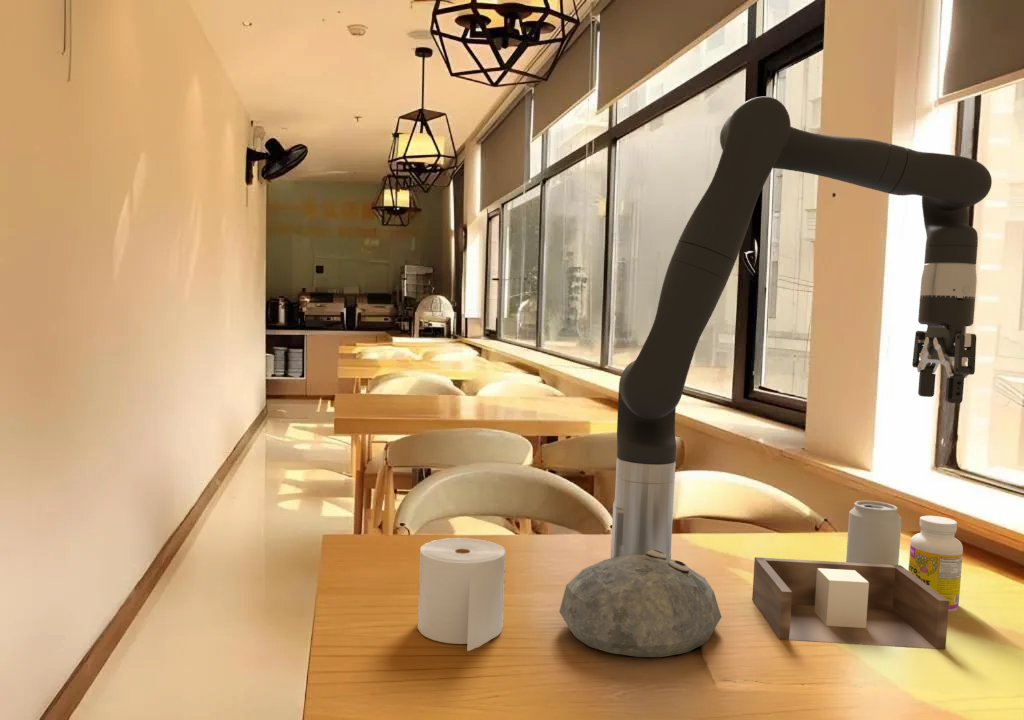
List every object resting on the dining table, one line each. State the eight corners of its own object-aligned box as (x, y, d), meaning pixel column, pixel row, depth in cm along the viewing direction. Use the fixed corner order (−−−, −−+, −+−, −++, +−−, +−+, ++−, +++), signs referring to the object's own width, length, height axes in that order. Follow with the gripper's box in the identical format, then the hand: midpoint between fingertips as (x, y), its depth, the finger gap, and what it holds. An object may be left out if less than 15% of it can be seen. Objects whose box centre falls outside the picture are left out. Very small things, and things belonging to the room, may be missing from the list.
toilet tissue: (464, 606, 110) (466, 533, 109) (527, 633, 101) (531, 554, 101) (399, 625, 102) (402, 547, 102) (462, 657, 94) (466, 571, 93)
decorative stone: (537, 617, 107) (540, 542, 107) (673, 603, 115) (677, 533, 114) (598, 675, 91) (602, 587, 90) (752, 654, 98) (757, 572, 98)
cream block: (826, 625, 106) (829, 580, 106) (814, 611, 111) (817, 568, 111) (865, 628, 106) (868, 582, 105) (851, 613, 111) (854, 570, 110)
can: (887, 573, 132) (892, 500, 131) (904, 588, 125) (910, 511, 124) (839, 570, 133) (843, 497, 132) (853, 585, 125) (858, 508, 125)
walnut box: (778, 645, 101) (782, 591, 101) (751, 604, 115) (754, 557, 114) (945, 655, 100) (949, 600, 99) (897, 613, 114) (900, 565, 113)
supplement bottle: (896, 599, 120) (902, 513, 119) (939, 600, 120) (945, 513, 119) (923, 616, 113) (929, 525, 112) (968, 617, 114) (975, 526, 113)
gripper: (901, 294, 132) (894, 393, 133) (946, 292, 118) (937, 403, 119) (948, 296, 132) (940, 395, 133) (998, 294, 118) (989, 406, 119)
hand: (939, 399), depth 126 cm, fingers open, 8 cm apart
